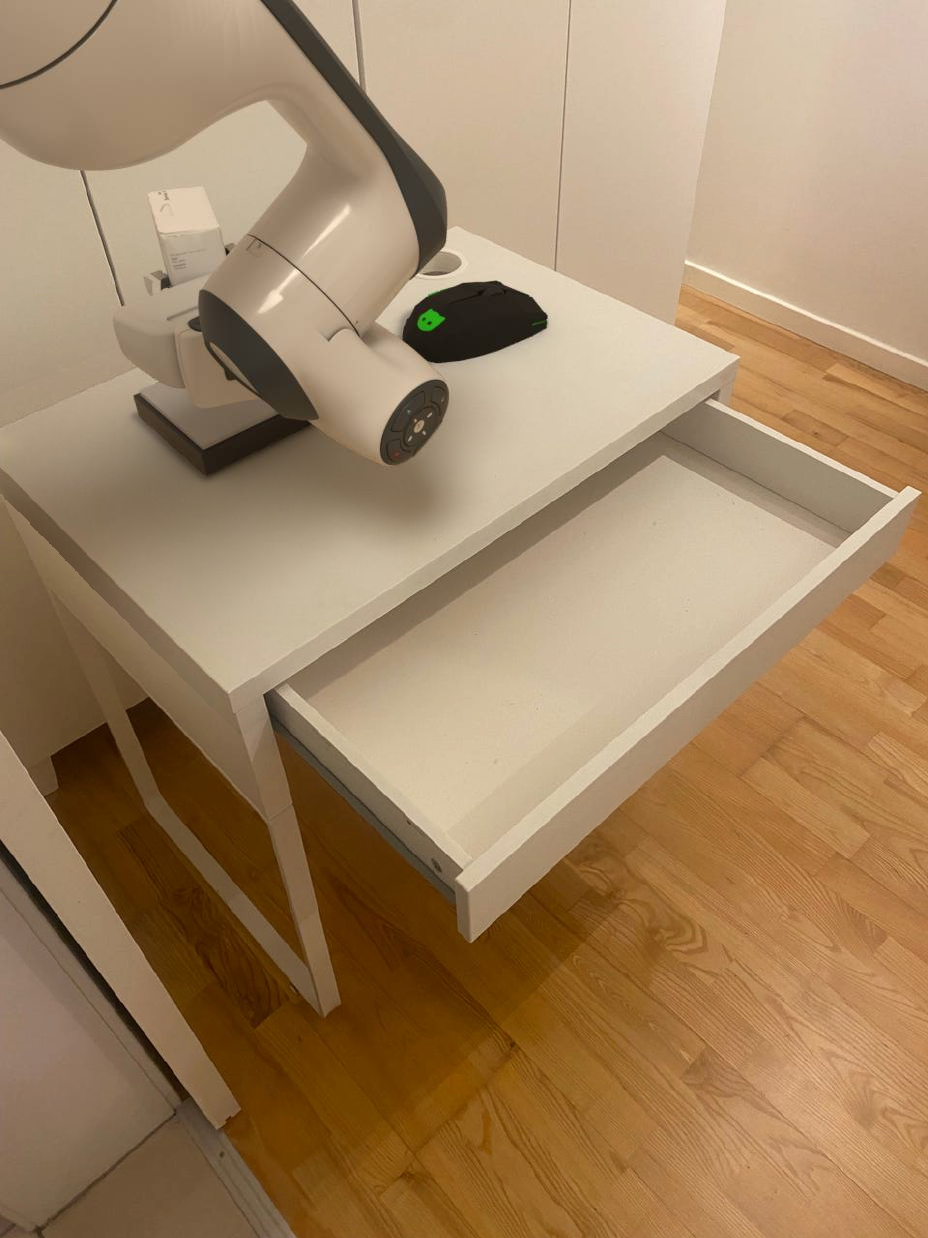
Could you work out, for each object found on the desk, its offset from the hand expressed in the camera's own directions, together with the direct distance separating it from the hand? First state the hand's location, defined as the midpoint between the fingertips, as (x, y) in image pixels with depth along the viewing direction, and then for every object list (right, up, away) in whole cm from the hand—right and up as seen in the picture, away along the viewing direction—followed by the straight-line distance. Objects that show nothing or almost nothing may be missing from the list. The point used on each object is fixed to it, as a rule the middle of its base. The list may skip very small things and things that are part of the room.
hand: (191, 266), depth 81 cm
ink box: (+1, -5, +5) cm, 7 cm away
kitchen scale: (0, -11, +11) cm, 16 cm away
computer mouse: (+24, +2, +23) cm, 33 cm away
